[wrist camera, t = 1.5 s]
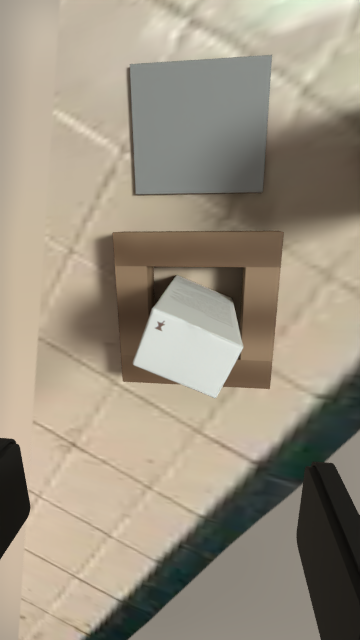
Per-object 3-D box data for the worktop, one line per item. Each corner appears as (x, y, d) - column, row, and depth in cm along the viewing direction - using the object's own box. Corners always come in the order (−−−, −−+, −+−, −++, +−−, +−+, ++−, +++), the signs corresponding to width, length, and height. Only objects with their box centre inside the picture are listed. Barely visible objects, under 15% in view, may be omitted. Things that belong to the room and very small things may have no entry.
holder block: (122, 231, 29) (112, 232, 26) (276, 231, 28) (283, 232, 25) (130, 367, 33) (122, 381, 30) (265, 374, 32) (269, 388, 29)
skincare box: (160, 312, 31) (128, 364, 20) (176, 273, 30) (151, 304, 18) (216, 336, 31) (216, 401, 20) (234, 298, 30) (246, 345, 18)
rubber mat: (131, 66, 25) (129, 64, 25) (271, 57, 24) (271, 54, 23) (136, 194, 28) (135, 194, 28) (262, 192, 27) (262, 192, 26)
